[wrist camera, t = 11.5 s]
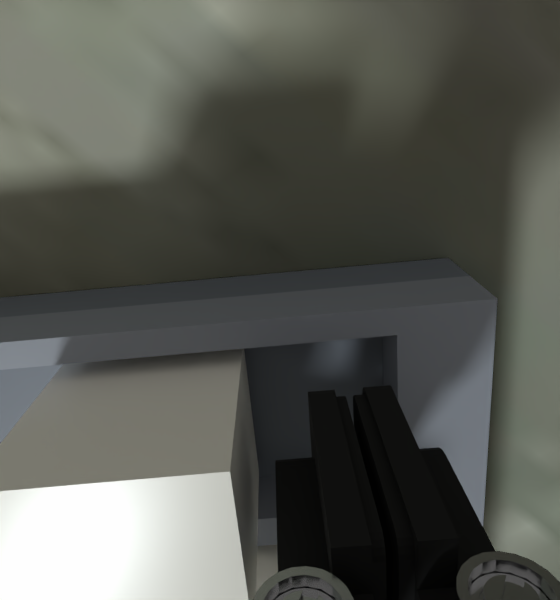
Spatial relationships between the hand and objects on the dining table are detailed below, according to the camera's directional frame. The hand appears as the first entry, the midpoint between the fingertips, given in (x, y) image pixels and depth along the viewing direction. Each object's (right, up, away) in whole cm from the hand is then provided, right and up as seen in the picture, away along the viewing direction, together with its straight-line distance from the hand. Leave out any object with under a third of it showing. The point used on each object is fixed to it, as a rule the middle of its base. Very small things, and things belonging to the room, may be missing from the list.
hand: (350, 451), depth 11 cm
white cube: (-4, 0, +2) cm, 5 cm away
